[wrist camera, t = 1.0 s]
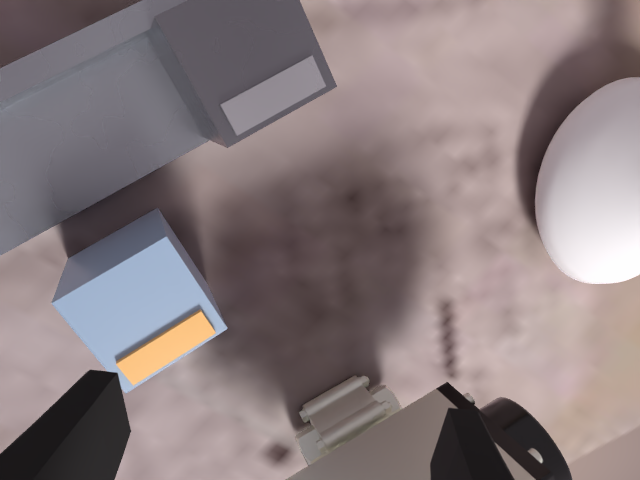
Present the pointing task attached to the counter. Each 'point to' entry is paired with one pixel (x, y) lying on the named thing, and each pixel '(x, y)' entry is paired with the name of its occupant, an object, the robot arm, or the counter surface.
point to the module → (138, 300)
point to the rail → (144, 99)
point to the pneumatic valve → (412, 435)
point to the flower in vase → (594, 187)
